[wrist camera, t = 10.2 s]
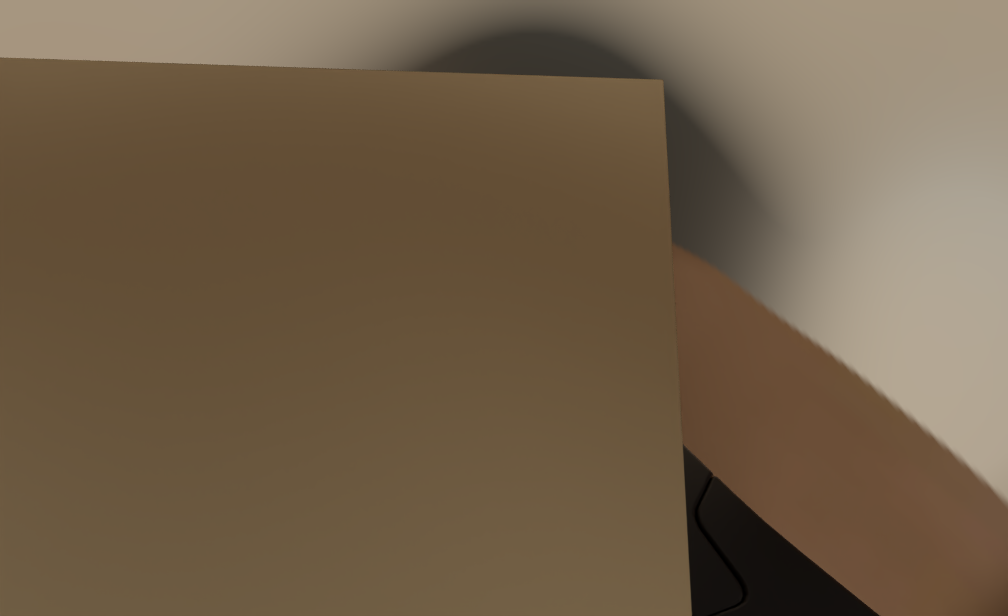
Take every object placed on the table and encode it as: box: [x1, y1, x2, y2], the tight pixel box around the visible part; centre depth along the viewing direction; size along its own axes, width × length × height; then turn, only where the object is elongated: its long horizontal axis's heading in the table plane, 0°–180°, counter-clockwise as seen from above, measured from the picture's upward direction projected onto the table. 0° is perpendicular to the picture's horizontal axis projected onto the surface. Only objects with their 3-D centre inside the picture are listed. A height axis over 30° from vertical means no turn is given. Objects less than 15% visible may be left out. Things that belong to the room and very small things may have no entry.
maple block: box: [0, 58, 692, 616], centre depth 8 cm, size 4×4×12 cm
